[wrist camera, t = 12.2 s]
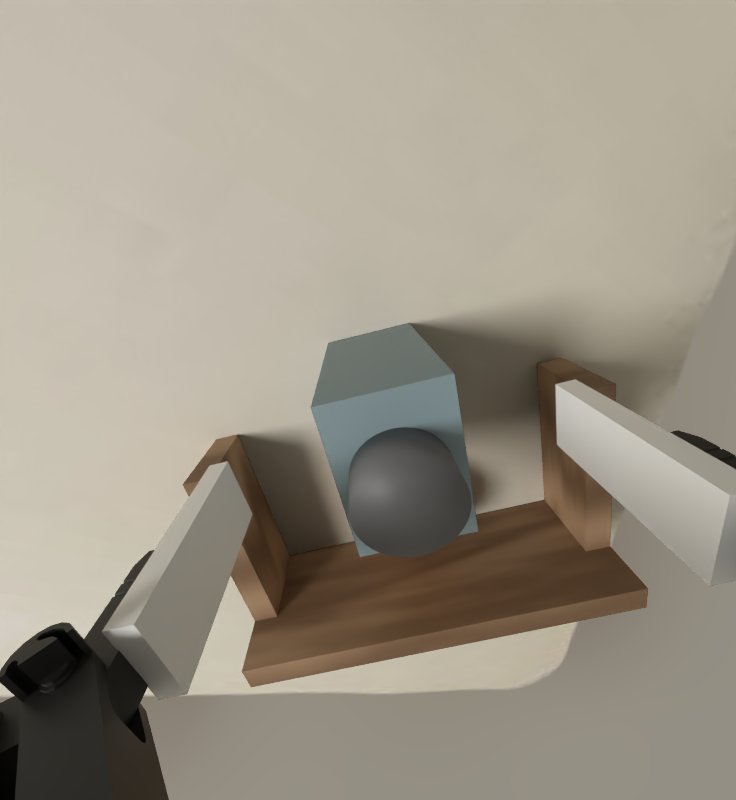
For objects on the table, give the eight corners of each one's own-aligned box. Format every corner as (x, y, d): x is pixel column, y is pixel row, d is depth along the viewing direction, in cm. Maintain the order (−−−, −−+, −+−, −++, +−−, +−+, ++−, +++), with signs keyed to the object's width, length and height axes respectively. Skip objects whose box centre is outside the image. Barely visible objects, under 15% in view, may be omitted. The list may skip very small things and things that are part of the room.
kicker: (328, 342, 21) (303, 434, 10) (408, 323, 21) (473, 394, 10) (356, 441, 24) (361, 600, 13) (428, 424, 24) (496, 571, 12)
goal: (216, 439, 23) (153, 524, 16) (560, 358, 22) (665, 407, 15) (277, 573, 28) (251, 687, 21) (564, 511, 27) (646, 607, 19)
